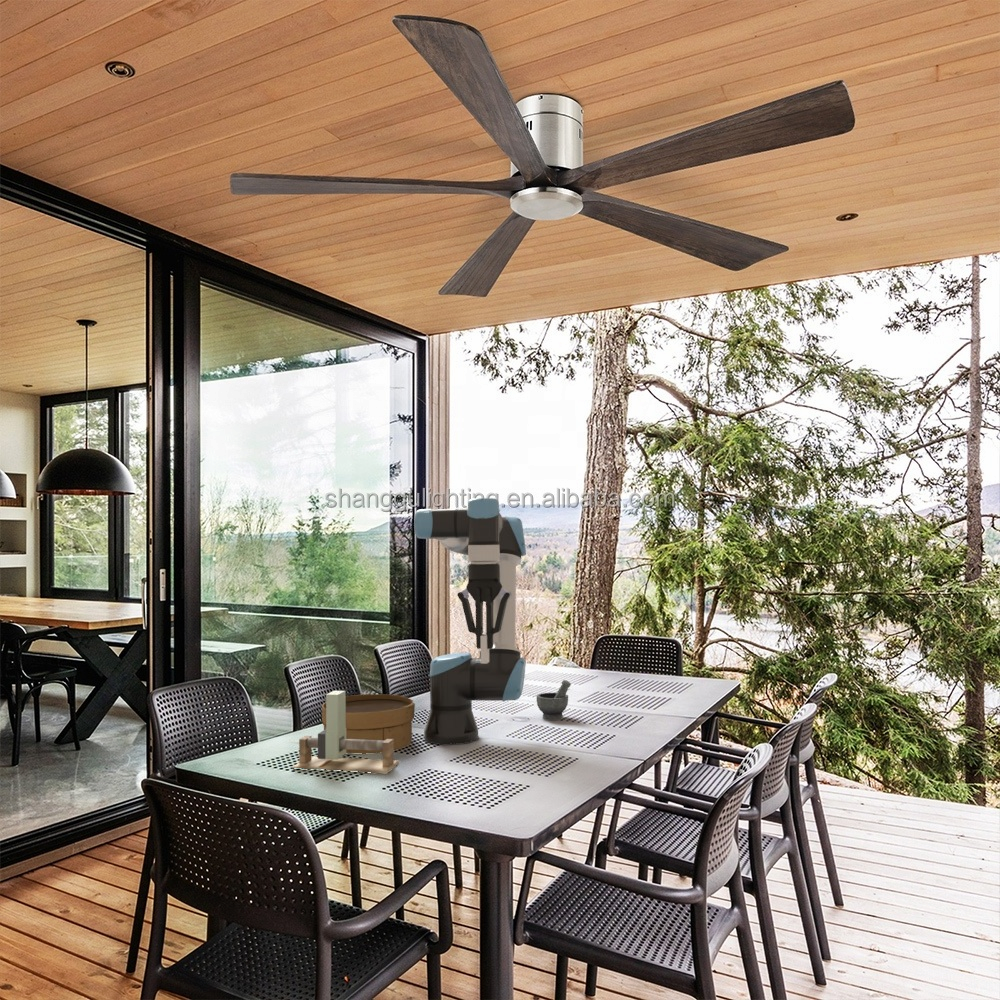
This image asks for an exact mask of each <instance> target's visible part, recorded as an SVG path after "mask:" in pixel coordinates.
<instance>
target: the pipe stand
mask: <svg viewBox="0 0 1000 1000" xmlns="http://www.w3.org/2000/svg"><path fill="white" fill-rule="evenodd" d="M298 740H299V742H298V743H299V744H298V745H299V747H298V750H299V752H298V753H299V754H298V757H299V758H298V763H297V764H295V765H293V766H292V769H293V768H304V769H326V770H343V771H359V772H371V773H386V774H385V775H388V774H389V773H390V772H391V771H392V770H393V769H395V768H396V767H397V766H396V765H399V763H400V760H398V759H397V760H396V759H394V757H395V756H394V754H395V753H394V752H395V751H394V739H386V740H359V739H339V749H353V750H377V751H382V753H381V754H382V759H379V758H378V759H373V758H356V757H355V758H351V757H340V758H339V759H337V760H336V759H318V756H312V748H314V749H318V737H312V735H304V736H303V737H301V738H299V739H298ZM391 769H392V770H391ZM390 770H391V771H390ZM389 771H390V772H389ZM388 772H389V773H388ZM371 773H370V774H371ZM387 773H388V774H387Z"/></svg>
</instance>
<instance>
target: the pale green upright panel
mask: <svg viewBox="0 0 1000 1000" xmlns="http://www.w3.org/2000/svg"><path fill="white" fill-rule="evenodd" d="M346 691H347V690H333V691H330V692H329V693H326V696H325V698H326V699H325V702H326V734H325V759H336V760H337V759H339V758H342V757H343V756H345V755H347V754H346V749H339V739H346V696H347V695H346Z"/></svg>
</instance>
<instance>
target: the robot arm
mask: <svg viewBox="0 0 1000 1000" xmlns="http://www.w3.org/2000/svg"><path fill="white" fill-rule="evenodd" d="M499 502H500V501H499V500H498V499H497V498H493V497H489V498H488V497H479V498H471V499H469V500H468V501H467V508H424V509H423V508H421V509H418V510H416V511H415V514H414V519H413V520H414V523H413V526H414V527H413V528H414V534H415V536H416V538H417V539H424V540H425V539H426V540H430V539H431V540H436V541H439V542H440V543H441V545H442V547H444V548H445V549H446V550H448V551H451V552H454V553H457V554H460V555H464V556H467V561H468V562H470V564H468V565H467V569H468V573H467V574H468V575H467V577H468V579H467V580H468V582H467V584H466V588H465V589H464V590H462V591H460V592H458V593H457V598H458V599H459V601H460V602H461V605H462V606H461V607H462V610H463V614H464V617H465V621H466V626H467V630H468V632H469V633H472V634H475V636H476V640H475V642H476V643H475V644H476V649H478V650H479V657H473V654H471V652H467V651H465V652H464V651H463V652H462V651H461V652H455V653H448V654H443V655H439V656H437V657H434V658H433V659H432V660H431V661H430V669H429V674H428V675H429V697H430V698H429V699H430V700H429V701H430V702H429V704H430V705H429V706H430V709H429V715H428V716H427V720H426V724H425V728H424V732H423V735H424V737H423V740H424V741H425V742H427V743H430V744H435V745H436V744H437V745H449V746H450V745H463V744H467V743H473V742H474V741H476V740H478V739H479V728H478V725H477V722H476V718H475V716H474V713H473V707H472V706H473V705H472V703H473V702H472V701H477V702H478V701H479V702H481V701H485V702H486V701H490V702H491V701H494V702H496V701H497V702H499V701H502V702H506V701H509V702H510V701H517V700H519V699H520V698H521V697H522V693H523V690H524V689H523V688H524V682H525V677H526V676H525V675H526V667H527V666H526V663H527V662H526V659H525V658H523V657H521V653H522V652H521V651H520V650H519V648H518V647H517V646H516V621H517V620H516V616H517V615H516V614H517V613H516V612H517V611H516V606H517V605H516V603H517V602H516V601H517V600H516V599H517V592H516V591H517V566H518V565H519V564H521V563H522V557H524V556H527V548H526V541H525V535H524V533H525V532H524V527H523V522H522V520H521V518H520V517H516V516H507V515H506V516H502V514H501V513H500V511H501V510H500V504H499ZM469 594H470V595H469ZM470 596H471V598H472V599H473V601H474V604H475V605H474V606H475V621H474V616H473V613H472V608H471V605H470V604H471V603H470V600H469V597H470ZM484 603H485V606H486V607H485V634H483V633H484V617H483V616H484V610H483V609H484Z"/></svg>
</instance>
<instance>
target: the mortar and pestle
mask: <svg viewBox="0 0 1000 1000" xmlns="http://www.w3.org/2000/svg"><path fill="white" fill-rule="evenodd" d="M571 685H572V684H571V682H570V681H568V680H566V679H563V680H562V682H561V685H560V687H559V689H558V690H557V692H542V693H538V694H537V695H536V706H537V707H538V709H539V710H540V712H541V713H542V719H543V720H545V721H559V720H560V721H561V720H562V719H564V718H563V717H564V716H563V712H565V710H566V708H567V706H568V704H569V703H568V702H569V695H568V694H567V692H568V690H569V688H570V687H571Z"/></svg>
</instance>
